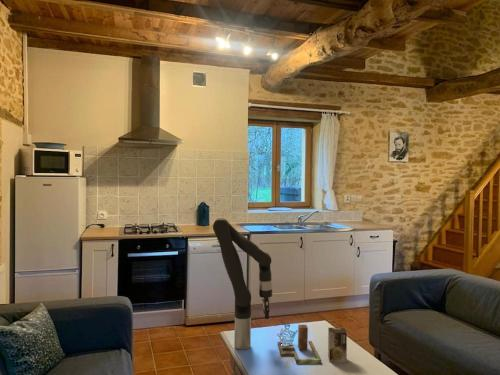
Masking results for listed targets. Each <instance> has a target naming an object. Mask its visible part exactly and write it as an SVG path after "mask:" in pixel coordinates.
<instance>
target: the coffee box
mask: <svg viewBox="0 0 500 375" xmlns="http://www.w3.org/2000/svg"><path fill="white" fill-rule="evenodd" d="M327 329H328V330H327V331H328V336H327V338H328V339H327V341H328V342H327V348H328V349H327V350H328V352H327V357H328V362H329V363H338V364H339V363H344V364H347V363H348V362H347V359H348V358H347V355H348V354H347V350H348V344H347V342H348V339H347V338H348V337H347V334H348V333H347V330H346V328H345V327H327Z"/></svg>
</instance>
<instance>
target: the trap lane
mask: <svg viewBox="0 0 500 375" xmlns="http://www.w3.org/2000/svg"><path fill="white" fill-rule="evenodd" d="M281 344H282V343H281V341H277V347H278V351H279V354H280V357H293V359H294V361H295V364H296V365H310V364H311V365H313V364H314V365H320V364H321V365H322V358H321V356H320V355H319V353H318V351H317V349H316V347H315V345H314V343H313V340H308V345H309V347H310V349H311V351H312V353H313V355H314V358H299V355H298V353H297V351H296V350H295V346H293V345H290V346H281Z"/></svg>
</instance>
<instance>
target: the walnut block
mask: <svg viewBox="0 0 500 375" xmlns="http://www.w3.org/2000/svg"><path fill="white" fill-rule="evenodd" d="M297 326H298V329H297V332H298V333H297V334H298V335H297V347H298V350H299V352H308V345H309V340H308V339H309V338H308V336H309V332H308V331H309V329H308V328H309V327H308V326H307V324H298V325H297Z"/></svg>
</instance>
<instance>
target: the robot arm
mask: <svg viewBox="0 0 500 375" xmlns="http://www.w3.org/2000/svg"><path fill="white" fill-rule="evenodd" d="M212 230H213V232H214V234H215V237H216V239H217V241H218V244H219V248H220V252H221V258H222V261H223V264H224V268H225V270H226V273H227V276H228V278H229V281H230V283H231V285H232V290H233V295H234V338H233V339H234V343H233V344H234V349H237V350H241V351H243V350H248V349H250V348H251V345H252V344H251V343H252V342H251V338H252V337H251V332H252V331H251V329H252V324H251V322H252V302H251V301H252V293H251V291H250V288H248V286H247V284H246V281H245V276H244V270H243V266H242V262H241V258H240V256H239V252H238V251H237V248H236V247H235V245H236V246H237V247H238V248H239V249H241V250H242V251H243V252H244V253H246V254H247V255H248V256H250V257H251V258H252V259H253V260H254V261H255V262H256V263H258V269H259V270H258V271H259V273H258V277H259V278H258V279H259V280H258V296H259V297H260V298H261V299H262V300H261V302H262V306H263V308H262V309H263V314H264V319H265V320H268V319H269V318H270V311H271V310H270V308H271V307H270V304H271V302H270V298H272V297H273V282H272V271H271V264H272V256H271V255H270V254H269V253H268V252H265V251H263V250H262V249H261V248H260V247H259V246H258V245H256V244H255V243H254V242H253V241H251V239H249V238H247V237H246V236H244V235H243V234H242V233H240V232H239V231H238V230H237V229H236V228H235V227H233V226H232V224H230V222H229V220H227V219H226V218H224V217H220V218H219V217H218V218H217V219H215V221H214V222H213V224H212Z"/></svg>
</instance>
